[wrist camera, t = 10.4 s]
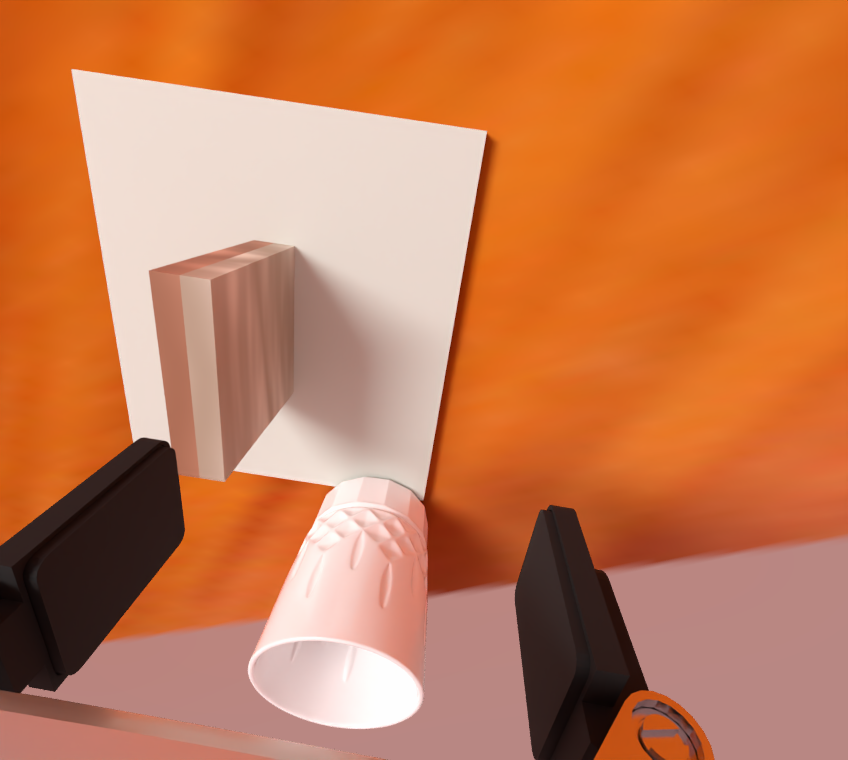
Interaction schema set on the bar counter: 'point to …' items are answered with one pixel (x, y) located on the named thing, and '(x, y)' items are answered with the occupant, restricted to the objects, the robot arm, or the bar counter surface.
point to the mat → (314, 256)
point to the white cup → (351, 613)
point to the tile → (224, 351)
